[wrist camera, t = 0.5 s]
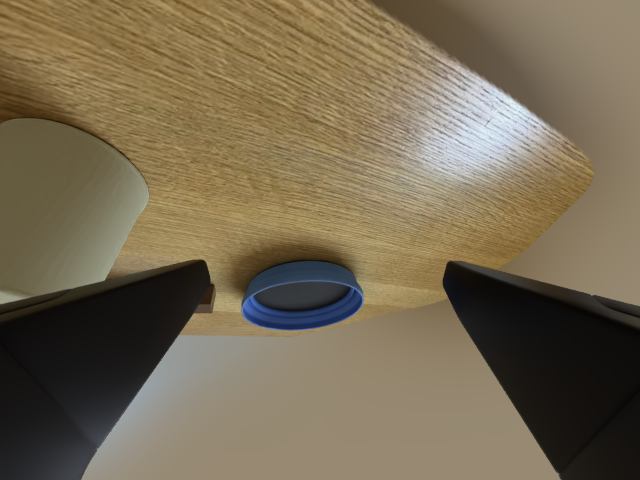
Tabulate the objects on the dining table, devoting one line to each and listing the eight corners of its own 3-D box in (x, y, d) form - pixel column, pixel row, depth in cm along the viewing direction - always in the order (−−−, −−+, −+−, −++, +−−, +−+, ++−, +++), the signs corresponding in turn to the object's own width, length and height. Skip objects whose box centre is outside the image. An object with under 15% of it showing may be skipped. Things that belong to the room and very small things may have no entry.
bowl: (228, 261, 30) (224, 287, 28) (368, 251, 31) (375, 274, 29) (255, 316, 44) (254, 335, 42) (351, 307, 45) (355, 325, 43)
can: (138, 230, 24) (75, 360, 16) (1, 189, 19) (-180, 350, 11) (160, 163, 19) (82, 310, 11) (-22, 84, 14) (-383, 253, 6)
